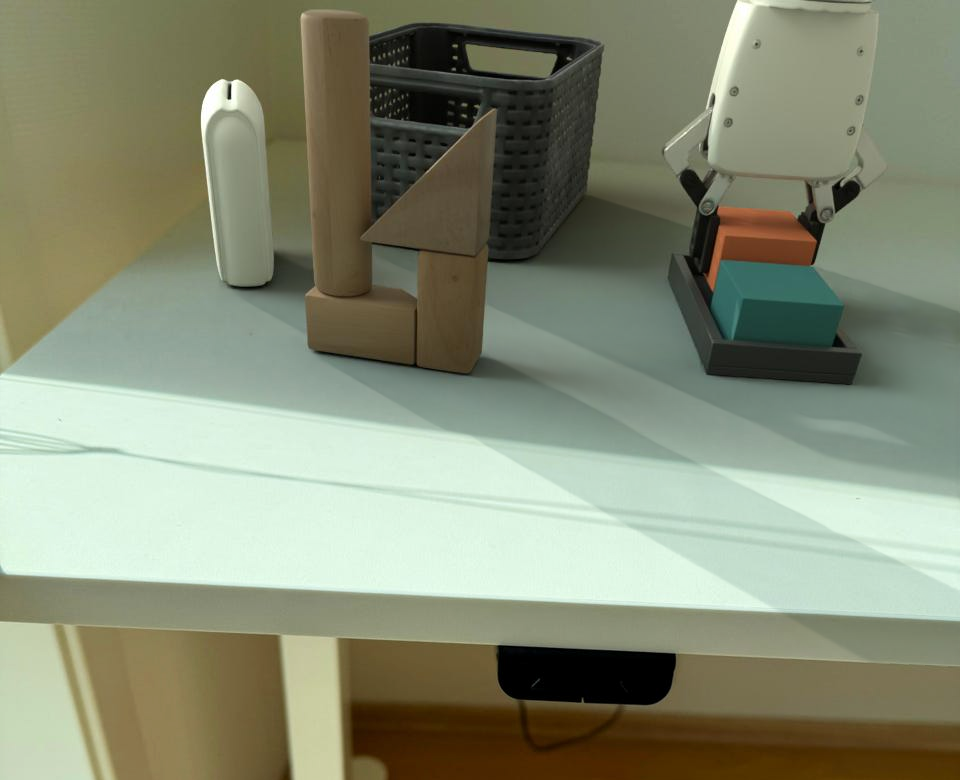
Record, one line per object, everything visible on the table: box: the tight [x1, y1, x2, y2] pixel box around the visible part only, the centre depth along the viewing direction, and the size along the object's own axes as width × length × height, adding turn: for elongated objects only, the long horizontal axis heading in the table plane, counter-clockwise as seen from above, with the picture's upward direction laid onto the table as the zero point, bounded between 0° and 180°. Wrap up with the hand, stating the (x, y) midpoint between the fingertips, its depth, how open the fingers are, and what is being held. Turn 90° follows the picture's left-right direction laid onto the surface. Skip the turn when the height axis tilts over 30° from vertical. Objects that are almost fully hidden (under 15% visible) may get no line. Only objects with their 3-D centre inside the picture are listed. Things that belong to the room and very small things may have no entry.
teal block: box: [710, 260, 845, 347], centre depth 62 cm, size 6×8×4 cm
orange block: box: [703, 205, 817, 293], centre depth 68 cm, size 6×8×4 cm
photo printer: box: [200, 78, 275, 287], centre depth 67 cm, size 10×4×12 cm, turn 11°
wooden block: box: [300, 8, 497, 375], centre depth 54 cm, size 4×11×18 cm, turn 77°
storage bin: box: [369, 21, 605, 261], centre depth 83 cm, size 29×19×13 cm
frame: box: [666, 251, 863, 385], centre depth 67 cm, size 20×10×2 cm, turn 178°
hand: (748, 268), depth 69 cm, fingers closed on orange block, 6 cm apart
